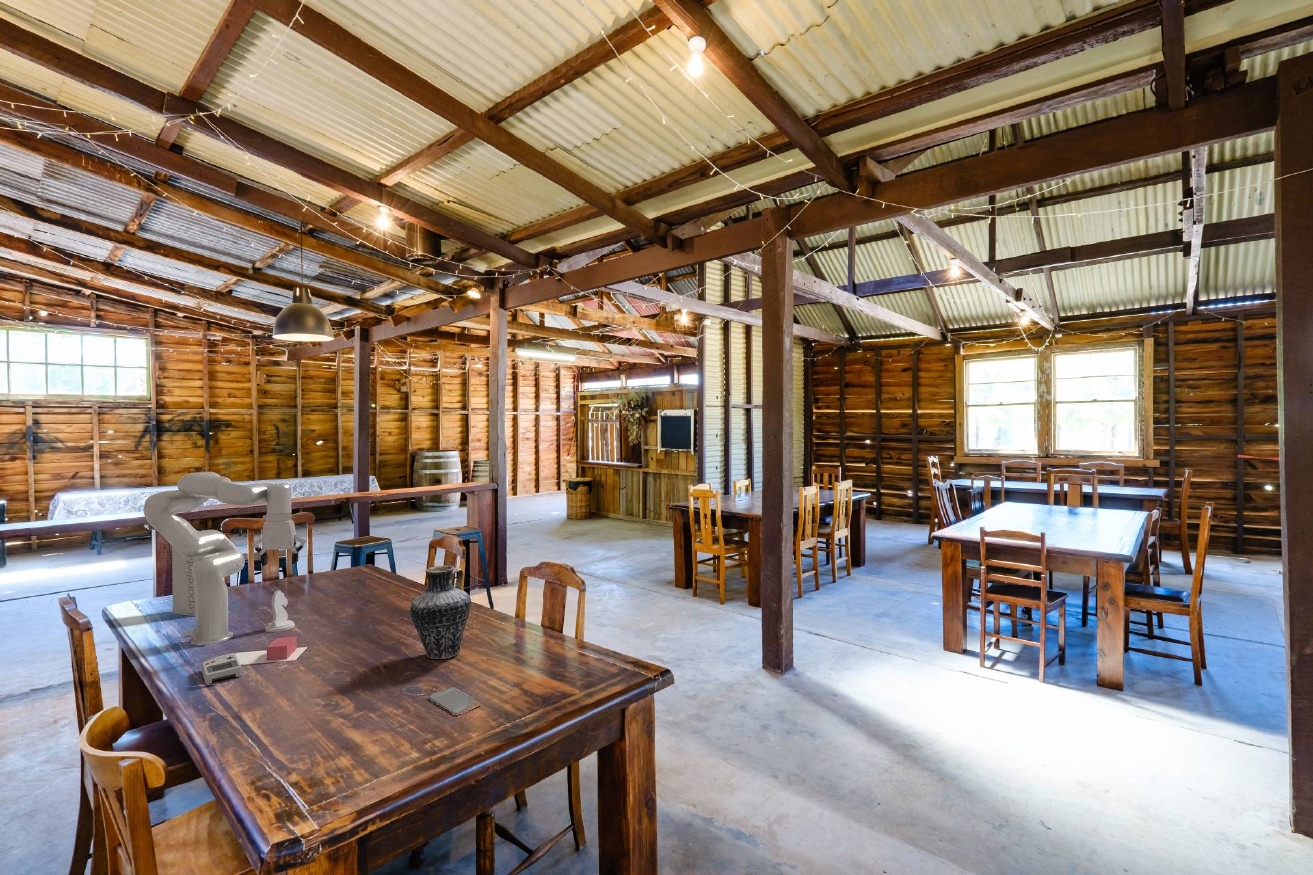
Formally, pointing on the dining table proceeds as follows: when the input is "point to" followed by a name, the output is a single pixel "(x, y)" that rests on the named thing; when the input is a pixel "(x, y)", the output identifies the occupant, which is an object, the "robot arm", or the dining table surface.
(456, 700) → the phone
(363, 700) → the dining table surface
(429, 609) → the jug
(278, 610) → the chess piece
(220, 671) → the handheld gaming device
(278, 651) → the card box
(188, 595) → the brochure
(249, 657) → the mat
